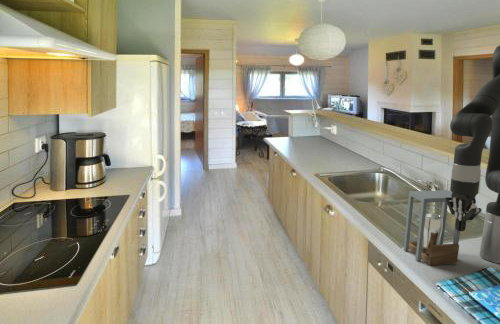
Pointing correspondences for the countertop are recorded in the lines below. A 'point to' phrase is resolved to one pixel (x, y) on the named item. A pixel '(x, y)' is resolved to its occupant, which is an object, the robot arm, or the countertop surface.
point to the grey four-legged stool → (425, 198)
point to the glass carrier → (438, 253)
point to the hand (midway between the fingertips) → (459, 230)
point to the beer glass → (432, 231)
